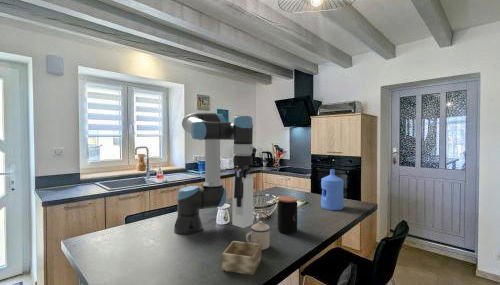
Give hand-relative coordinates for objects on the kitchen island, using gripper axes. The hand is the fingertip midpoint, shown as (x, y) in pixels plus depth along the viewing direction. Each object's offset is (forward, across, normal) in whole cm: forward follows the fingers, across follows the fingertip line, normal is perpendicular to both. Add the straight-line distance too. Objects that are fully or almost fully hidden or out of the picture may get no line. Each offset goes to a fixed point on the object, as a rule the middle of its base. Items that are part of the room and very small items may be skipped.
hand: (242, 211), depth 102 cm
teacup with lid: (+22, +18, -2) cm, 28 cm away
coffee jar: (+22, +42, -13) cm, 49 cm away
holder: (+22, 0, 0) cm, 22 cm away
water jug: (+22, +97, -39) cm, 107 cm away
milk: (+5, 0, 0) cm, 5 cm away
